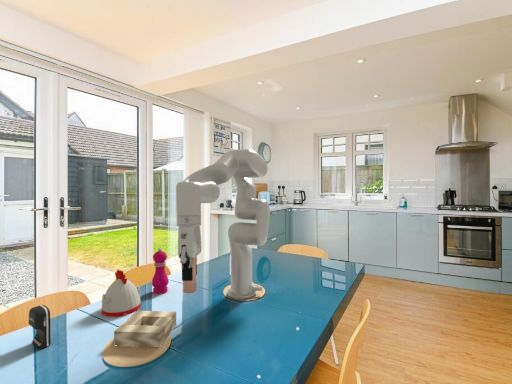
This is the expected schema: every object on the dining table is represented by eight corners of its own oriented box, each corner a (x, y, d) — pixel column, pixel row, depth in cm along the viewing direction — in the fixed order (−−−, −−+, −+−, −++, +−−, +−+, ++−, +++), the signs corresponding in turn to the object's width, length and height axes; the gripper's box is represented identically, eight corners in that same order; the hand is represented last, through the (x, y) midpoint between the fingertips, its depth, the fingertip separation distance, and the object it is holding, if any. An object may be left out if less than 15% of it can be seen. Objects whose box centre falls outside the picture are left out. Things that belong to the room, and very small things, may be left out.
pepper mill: (163, 295, 124) (163, 250, 123) (148, 294, 125) (148, 249, 125) (171, 289, 131) (171, 246, 130) (157, 288, 132) (156, 245, 132)
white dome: (130, 298, 120) (129, 263, 120) (147, 307, 112) (146, 269, 111) (95, 310, 110) (94, 271, 109) (111, 320, 101) (110, 279, 100)
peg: (197, 288, 92) (197, 251, 91) (194, 293, 88) (193, 255, 87) (185, 288, 92) (185, 251, 92) (181, 293, 88) (181, 254, 88)
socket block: (176, 324, 98) (176, 311, 98) (159, 347, 84) (159, 332, 84) (137, 323, 99) (137, 310, 99) (114, 346, 85) (114, 331, 85)
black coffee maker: (27, 344, 86) (27, 307, 86) (42, 338, 89) (42, 302, 89) (36, 352, 82) (35, 313, 82) (51, 345, 85) (50, 308, 85)
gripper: (192, 224, 81) (193, 287, 81) (207, 217, 97) (207, 270, 98) (167, 224, 81) (168, 287, 82) (185, 217, 98) (186, 269, 98)
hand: (189, 277), depth 90 cm, fingers closed on peg, 4 cm apart
